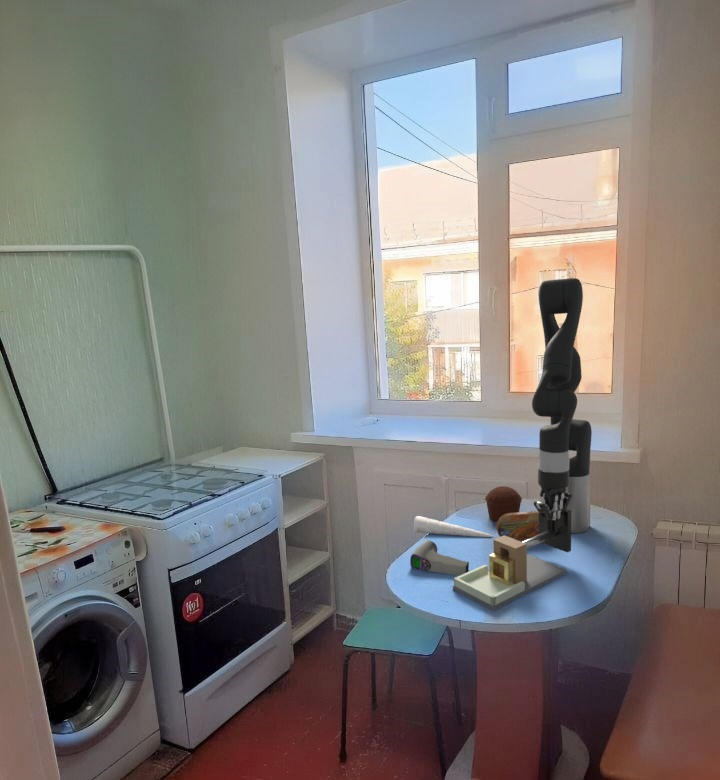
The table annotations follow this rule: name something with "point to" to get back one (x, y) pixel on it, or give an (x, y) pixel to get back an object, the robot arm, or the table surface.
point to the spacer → (508, 569)
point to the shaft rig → (494, 593)
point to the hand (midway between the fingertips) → (552, 532)
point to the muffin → (502, 502)
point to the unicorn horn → (444, 528)
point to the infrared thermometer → (436, 560)
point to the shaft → (555, 540)
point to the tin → (519, 525)
